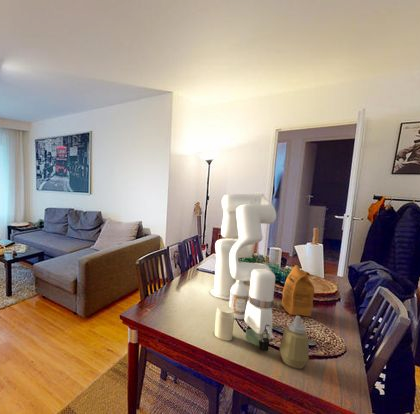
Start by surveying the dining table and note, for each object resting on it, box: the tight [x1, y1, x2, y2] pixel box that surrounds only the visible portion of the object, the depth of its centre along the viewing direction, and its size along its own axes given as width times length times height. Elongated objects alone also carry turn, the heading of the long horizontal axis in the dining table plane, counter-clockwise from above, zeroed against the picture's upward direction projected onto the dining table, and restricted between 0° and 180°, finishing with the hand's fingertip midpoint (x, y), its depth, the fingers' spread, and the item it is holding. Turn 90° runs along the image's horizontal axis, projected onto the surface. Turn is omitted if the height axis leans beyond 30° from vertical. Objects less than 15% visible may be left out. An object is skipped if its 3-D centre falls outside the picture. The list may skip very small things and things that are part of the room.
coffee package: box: [281, 264, 315, 317], centre depth 132 cm, size 10×12×22 cm
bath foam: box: [228, 279, 249, 320], centre depth 128 cm, size 7×7×20 cm
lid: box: [245, 329, 266, 346], centre depth 107 cm, size 8×8×2 cm
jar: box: [214, 304, 235, 341], centre depth 113 cm, size 6×6×12 cm
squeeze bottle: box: [279, 315, 310, 369], centre depth 97 cm, size 8×8×18 cm
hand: (256, 343), depth 108 cm, fingers closed on lid, 7 cm apart
